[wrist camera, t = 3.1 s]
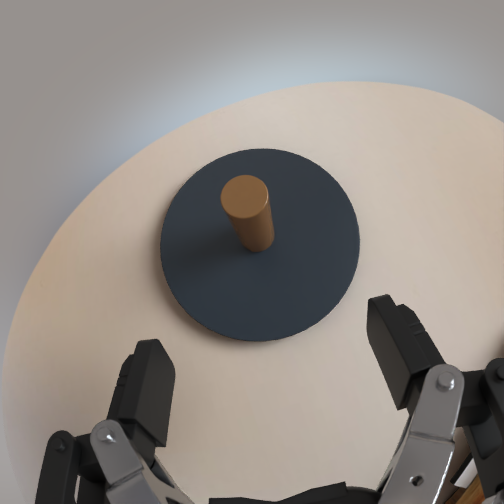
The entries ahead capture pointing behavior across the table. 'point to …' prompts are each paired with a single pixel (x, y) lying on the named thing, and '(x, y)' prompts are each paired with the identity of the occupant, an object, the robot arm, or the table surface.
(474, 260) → the table surface
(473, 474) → the book
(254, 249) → the lid
